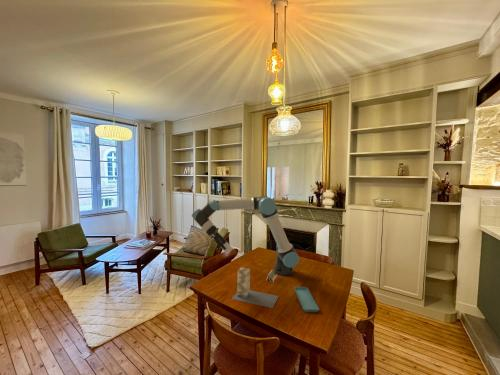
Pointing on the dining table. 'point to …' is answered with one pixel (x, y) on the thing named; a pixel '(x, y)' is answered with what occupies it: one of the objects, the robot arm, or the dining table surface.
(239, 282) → the birch block
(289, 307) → the dining table surface
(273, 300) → the rubber mat
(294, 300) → the dining table surface
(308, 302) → the shallow long dish
